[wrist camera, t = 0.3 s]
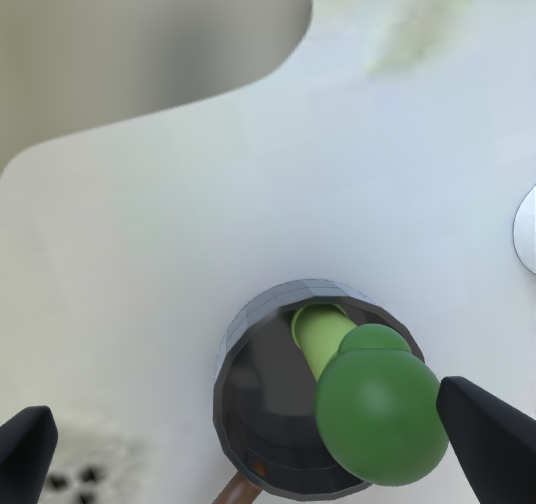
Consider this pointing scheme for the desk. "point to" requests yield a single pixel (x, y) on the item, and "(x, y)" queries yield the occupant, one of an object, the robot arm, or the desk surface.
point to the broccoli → (370, 397)
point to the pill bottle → (526, 231)
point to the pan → (284, 392)
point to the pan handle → (241, 488)
